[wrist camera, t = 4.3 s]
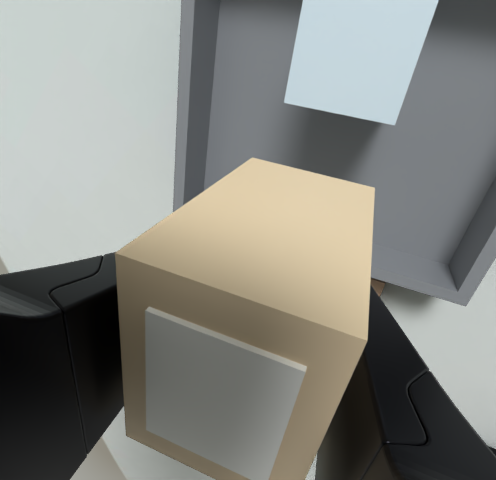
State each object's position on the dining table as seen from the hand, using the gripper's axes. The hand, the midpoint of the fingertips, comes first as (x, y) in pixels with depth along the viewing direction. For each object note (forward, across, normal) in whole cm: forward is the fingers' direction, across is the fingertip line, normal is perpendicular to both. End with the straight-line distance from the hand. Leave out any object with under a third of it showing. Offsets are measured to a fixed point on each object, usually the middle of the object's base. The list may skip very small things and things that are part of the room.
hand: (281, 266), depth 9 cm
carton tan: (+2, 0, 0) cm, 2 cm away
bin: (+10, 0, -3) cm, 11 cm away
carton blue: (+10, 0, -6) cm, 11 cm away
